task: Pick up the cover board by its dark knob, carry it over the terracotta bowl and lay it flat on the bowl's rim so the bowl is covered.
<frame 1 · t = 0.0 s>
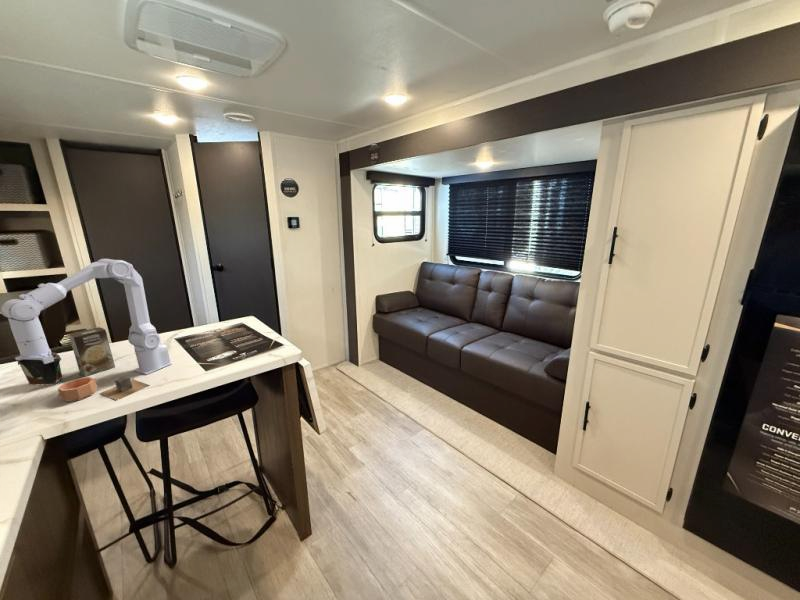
hand: (45, 379, 97), 10 cm above the counter, tool pointing down, fingers open, 7 cm apart
coffee box: (98, 370, 123), on the counter
cover board: (125, 391, 110), on the counter
food container: (52, 380, 116), on the counter
bowl: (80, 395, 107), on the counter
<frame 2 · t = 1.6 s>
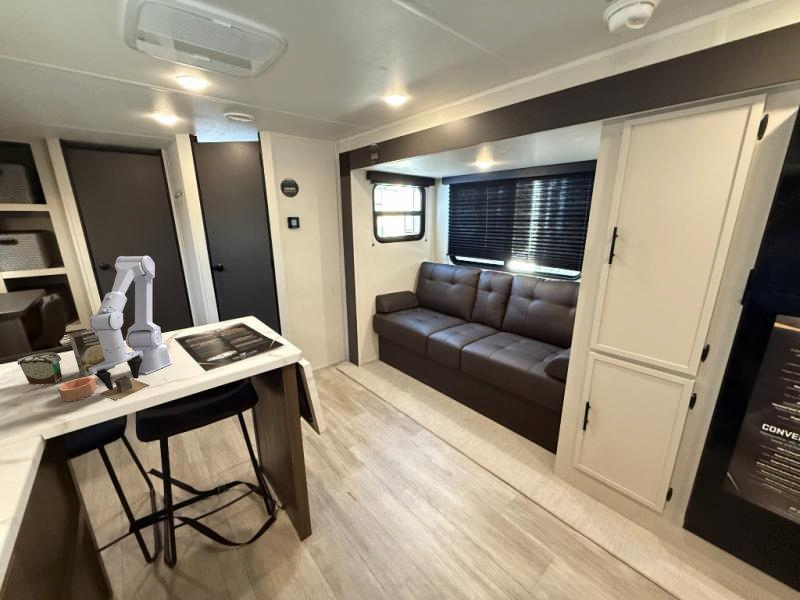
hand: (123, 383, 109), 3 cm above the counter, tool pointing down, fingers open, 7 cm apart
nothing on the counter moved.
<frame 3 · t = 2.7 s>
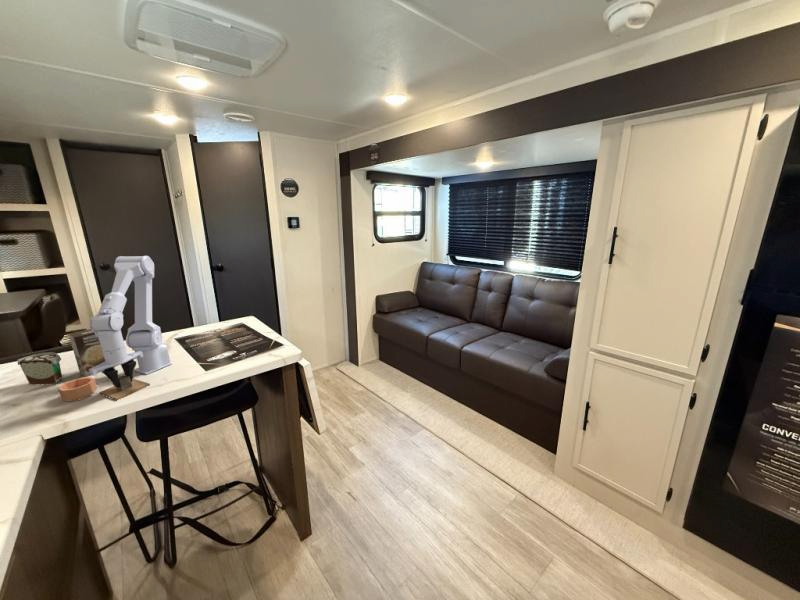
hand: (123, 383, 109), 2 cm above the counter, tool pointing down, fingers closed on cover board, 3 cm apart
cover board: (125, 389, 110), on the counter, touching gripper
everything else where it was.
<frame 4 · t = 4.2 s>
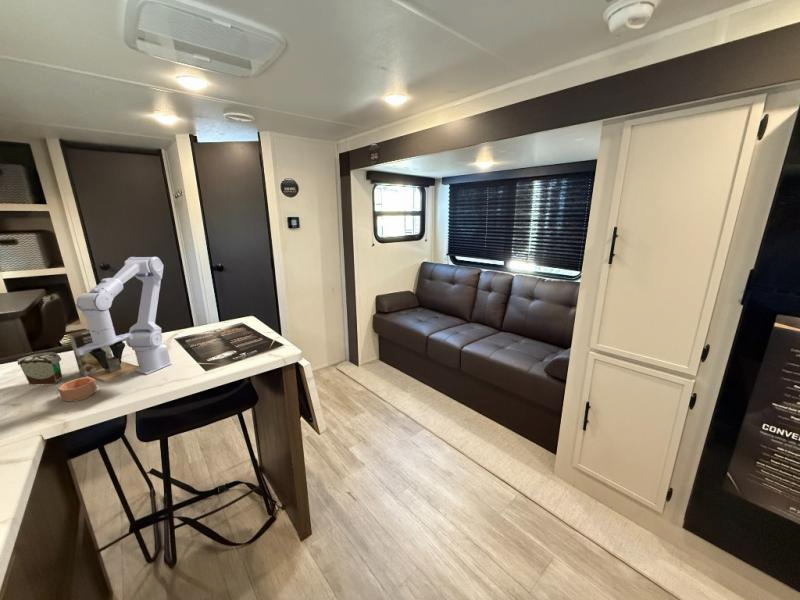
hand: (112, 365, 107), 9 cm above the counter, tool pointing down, fingers closed on cover board, 3 cm apart
cover board: (114, 372, 107), point 7 cm above the counter, touching gripper
everything else where it was.
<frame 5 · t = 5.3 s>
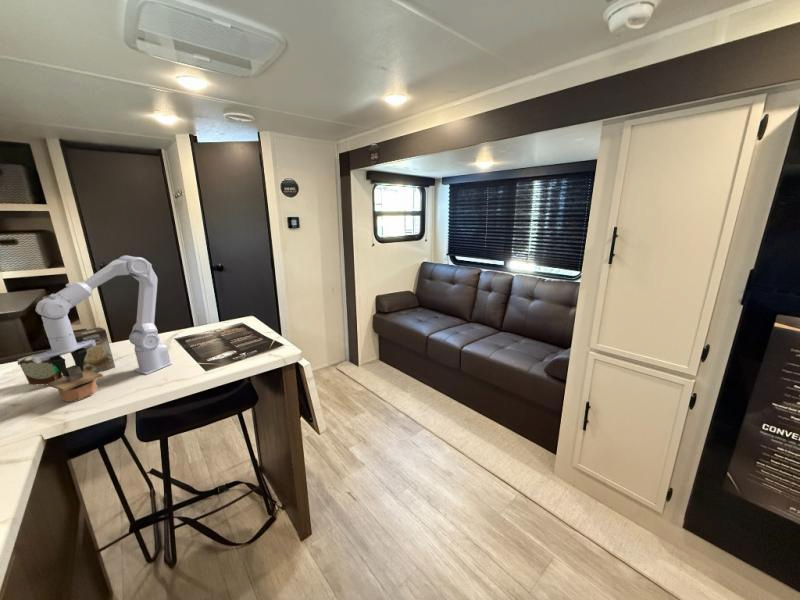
hand: (73, 373, 104), 8 cm above the counter, tool pointing down, fingers closed on cover board, 3 cm apart
cover board: (76, 380, 105), point 5 cm above the counter, touching gripper
everything else where it was.
when the fingers open (8 cm above the counter, at t = 5.9 s): cover board drops 1 cm, resting on bowl.
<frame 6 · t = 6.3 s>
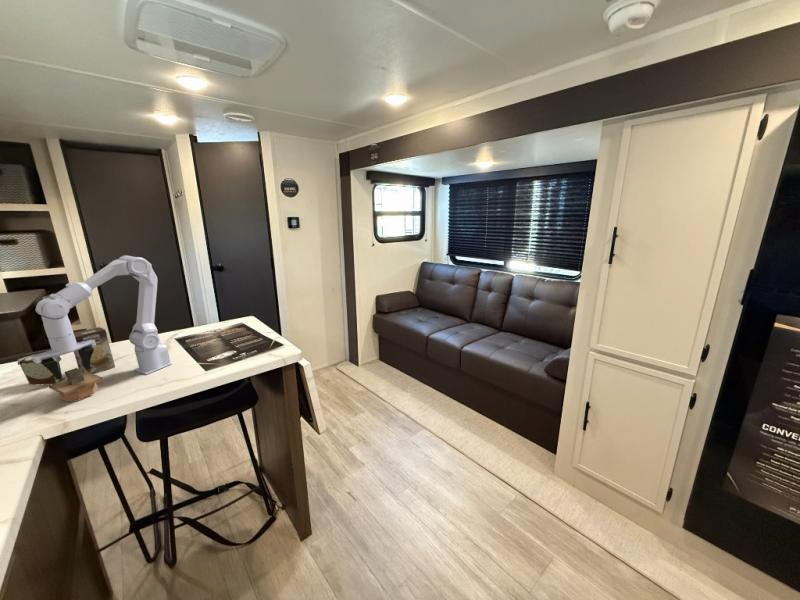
hand: (73, 373, 104), 8 cm above the counter, tool pointing down, fingers open, 7 cm apart
cover board: (77, 383, 105), point 4 cm above the counter, touching bowl
bowl: (80, 395, 107), on the counter, touching cover board
everything else where it was.
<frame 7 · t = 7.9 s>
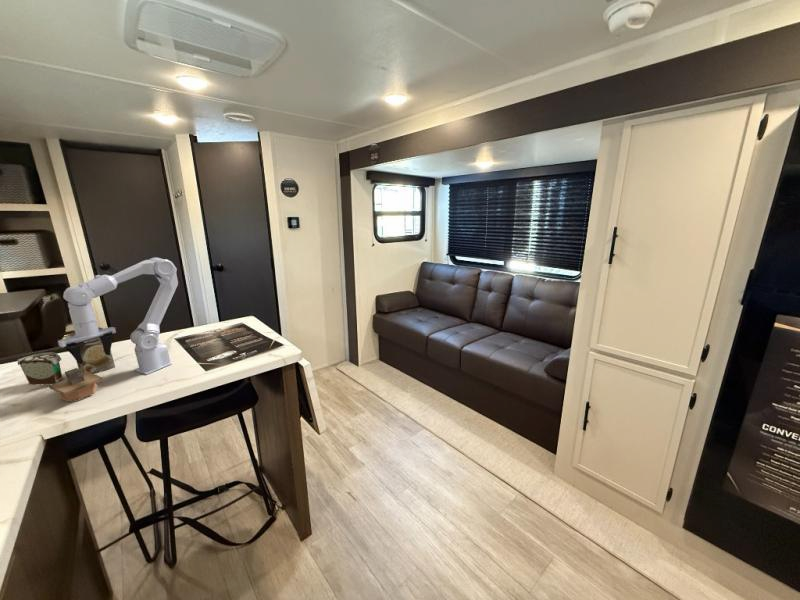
hand: (94, 358, 110), 10 cm above the counter, tool pointing down, fingers open, 7 cm apart
nothing on the counter moved.
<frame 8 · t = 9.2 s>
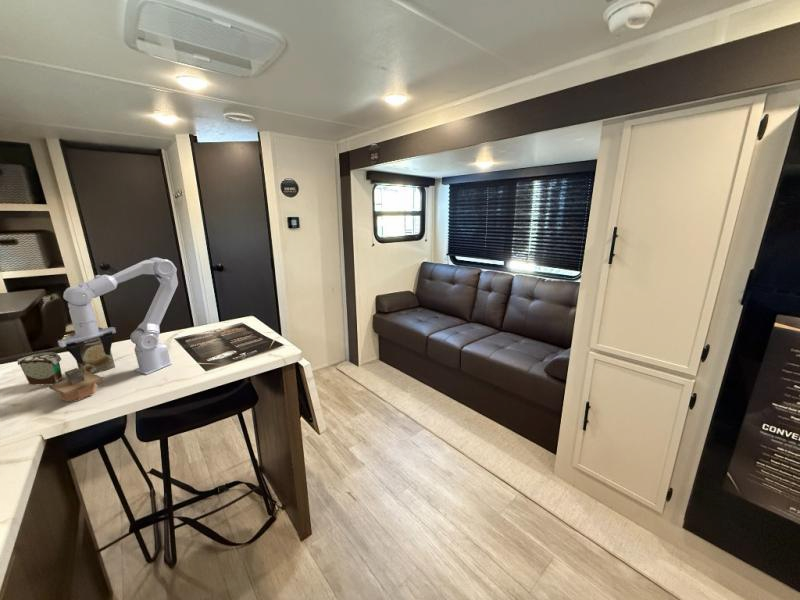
hand: (94, 358, 110), 10 cm above the counter, tool pointing down, fingers open, 7 cm apart
nothing on the counter moved.
at the end: cover board 0.3 cm off-centre on the bowl, point 4.5 cm above the bowl's base; cover board tilted 0°; the gripper is holding nothing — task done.
